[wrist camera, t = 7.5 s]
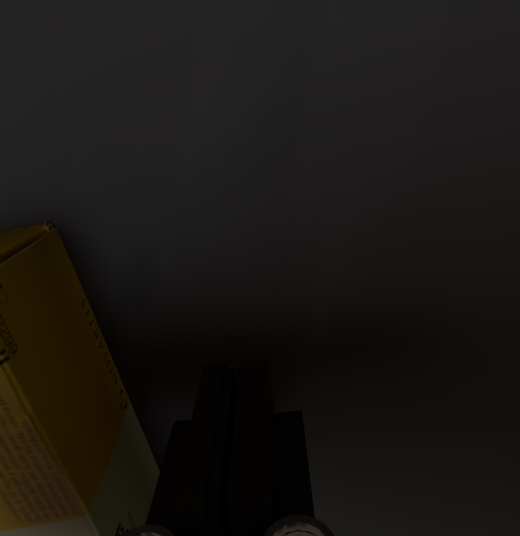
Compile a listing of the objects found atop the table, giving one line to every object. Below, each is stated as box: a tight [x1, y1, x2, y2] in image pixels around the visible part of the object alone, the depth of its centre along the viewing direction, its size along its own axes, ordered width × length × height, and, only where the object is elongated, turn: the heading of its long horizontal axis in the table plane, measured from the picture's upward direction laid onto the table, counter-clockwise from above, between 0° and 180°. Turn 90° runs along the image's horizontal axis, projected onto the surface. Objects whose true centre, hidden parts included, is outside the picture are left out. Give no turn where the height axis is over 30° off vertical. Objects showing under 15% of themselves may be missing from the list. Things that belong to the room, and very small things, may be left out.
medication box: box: [0, 219, 160, 536], centre depth 11 cm, size 12×3×4 cm, turn 12°
